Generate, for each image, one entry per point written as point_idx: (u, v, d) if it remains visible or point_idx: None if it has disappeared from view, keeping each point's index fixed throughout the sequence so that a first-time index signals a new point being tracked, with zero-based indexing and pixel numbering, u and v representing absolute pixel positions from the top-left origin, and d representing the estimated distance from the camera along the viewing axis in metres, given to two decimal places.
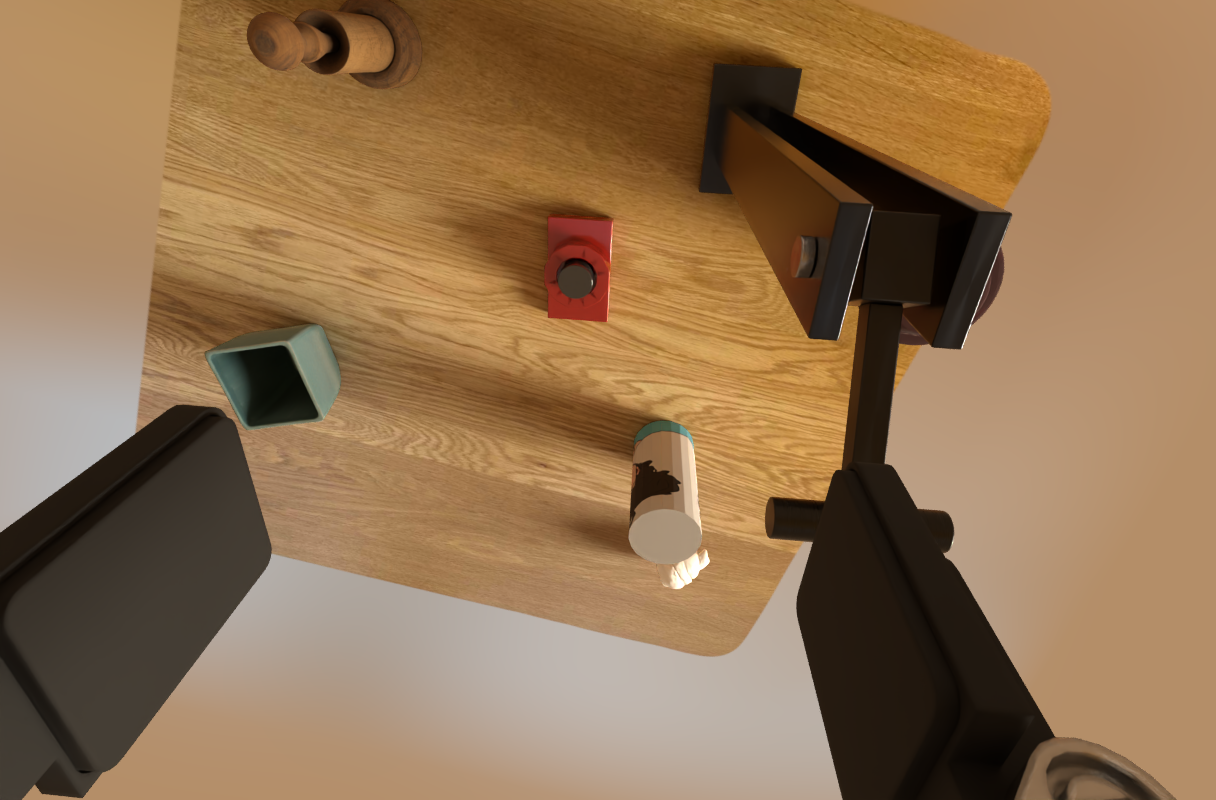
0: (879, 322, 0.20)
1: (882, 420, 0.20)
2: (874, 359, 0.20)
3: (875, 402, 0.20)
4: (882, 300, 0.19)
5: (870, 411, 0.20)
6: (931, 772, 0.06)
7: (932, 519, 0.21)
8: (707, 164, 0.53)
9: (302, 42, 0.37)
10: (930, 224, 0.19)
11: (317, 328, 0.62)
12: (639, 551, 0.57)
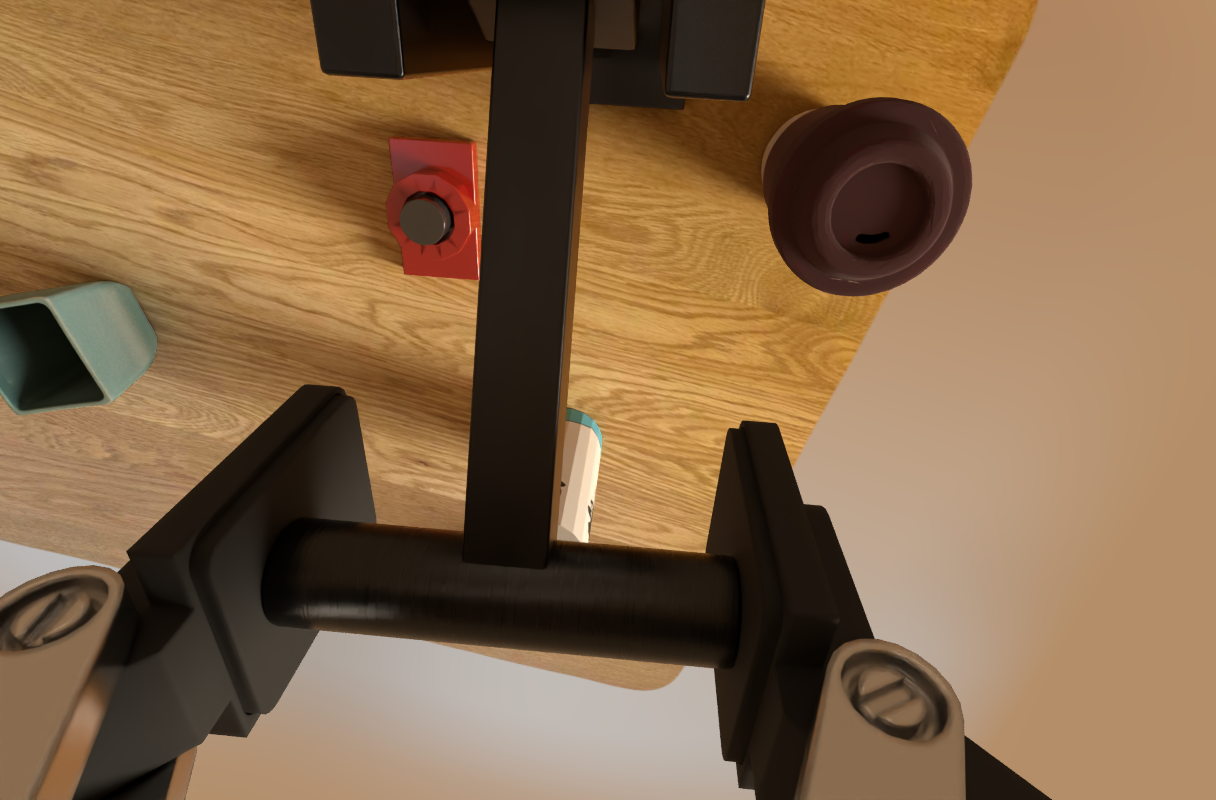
0: (522, 30, 0.07)
1: (543, 310, 0.07)
2: (514, 138, 0.07)
3: (524, 261, 0.07)
4: None
5: (510, 285, 0.07)
6: (767, 677, 0.07)
7: (686, 584, 0.08)
8: None
9: None
10: None
11: (114, 286, 0.49)
12: None
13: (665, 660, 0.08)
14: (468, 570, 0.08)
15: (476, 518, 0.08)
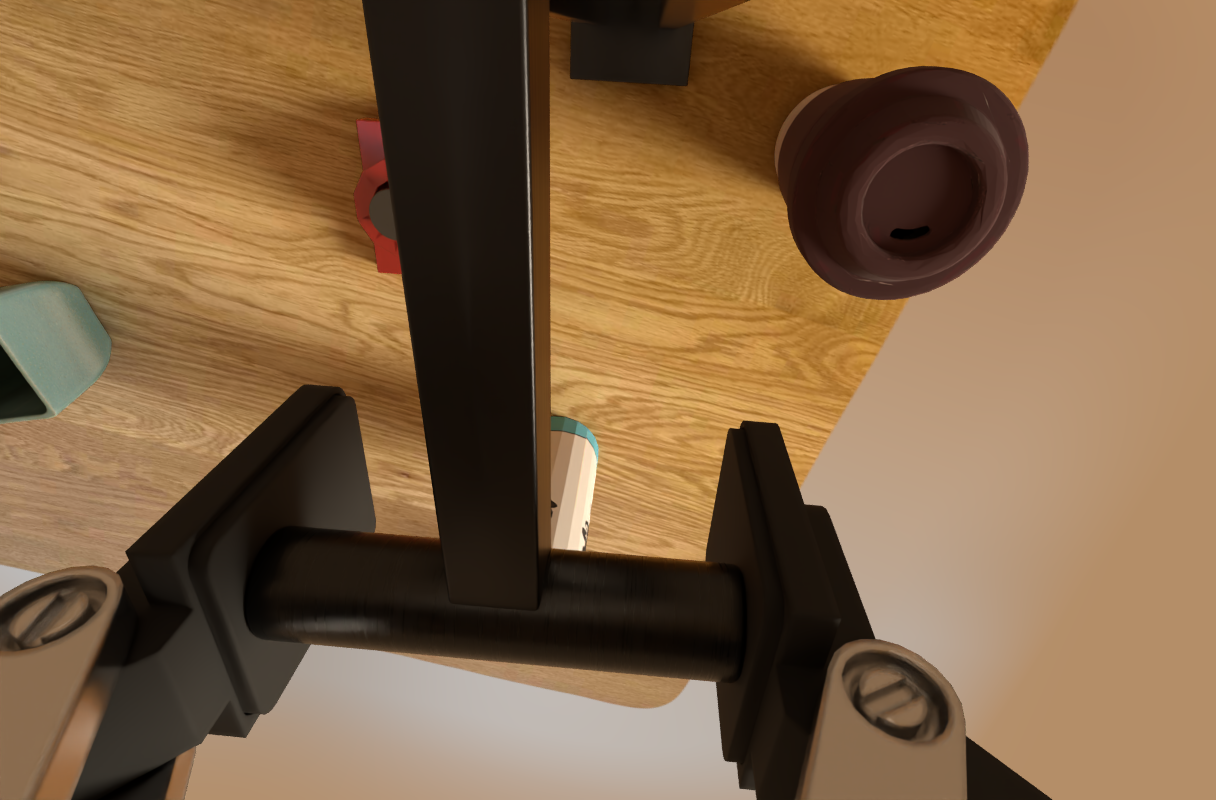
0: None
1: (503, 376, 0.05)
2: (423, 130, 0.04)
3: (468, 313, 0.05)
4: None
5: (454, 345, 0.05)
6: (768, 677, 0.07)
7: (688, 626, 0.07)
8: (578, 33, 0.35)
9: None
10: None
11: (58, 286, 0.44)
12: None
13: None
14: (456, 612, 0.07)
15: (456, 569, 0.07)
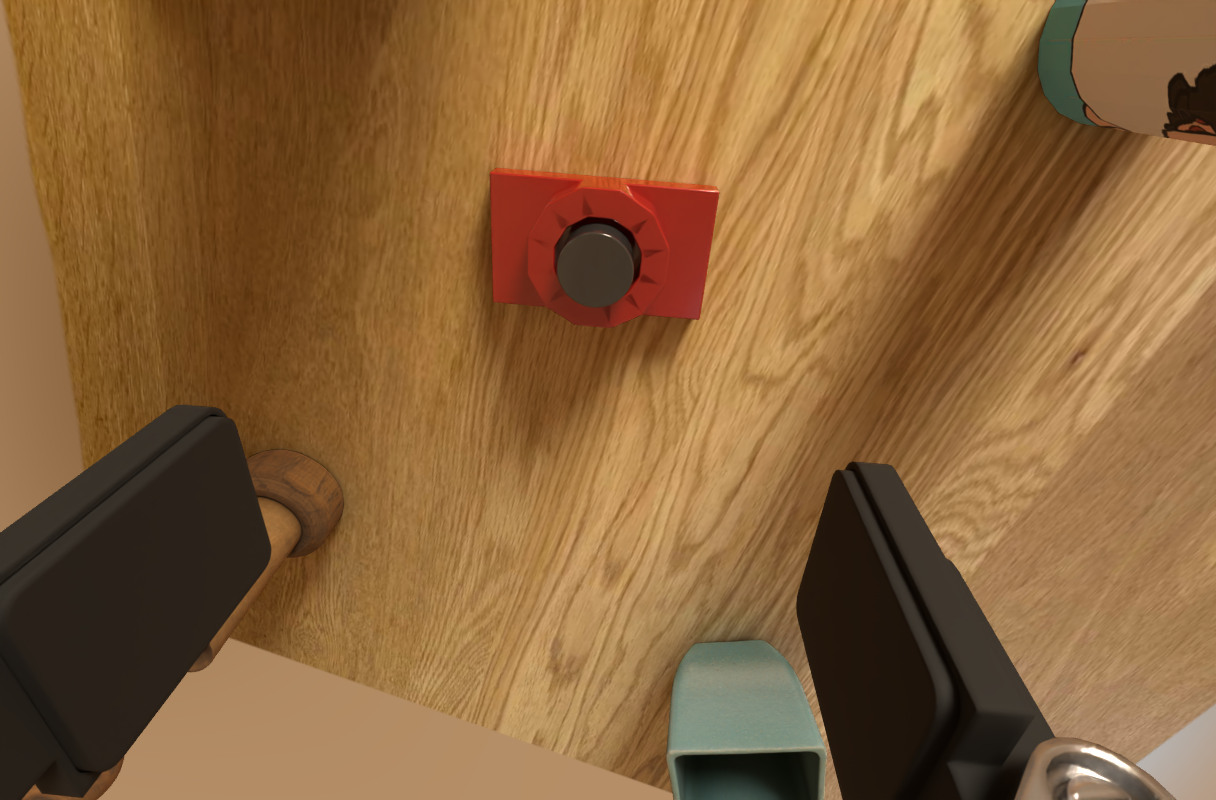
0: None
1: None
2: None
3: None
4: None
5: None
6: (931, 772, 0.06)
7: None
8: None
9: None
10: None
11: (685, 663, 0.40)
12: None
13: None
14: None
15: None
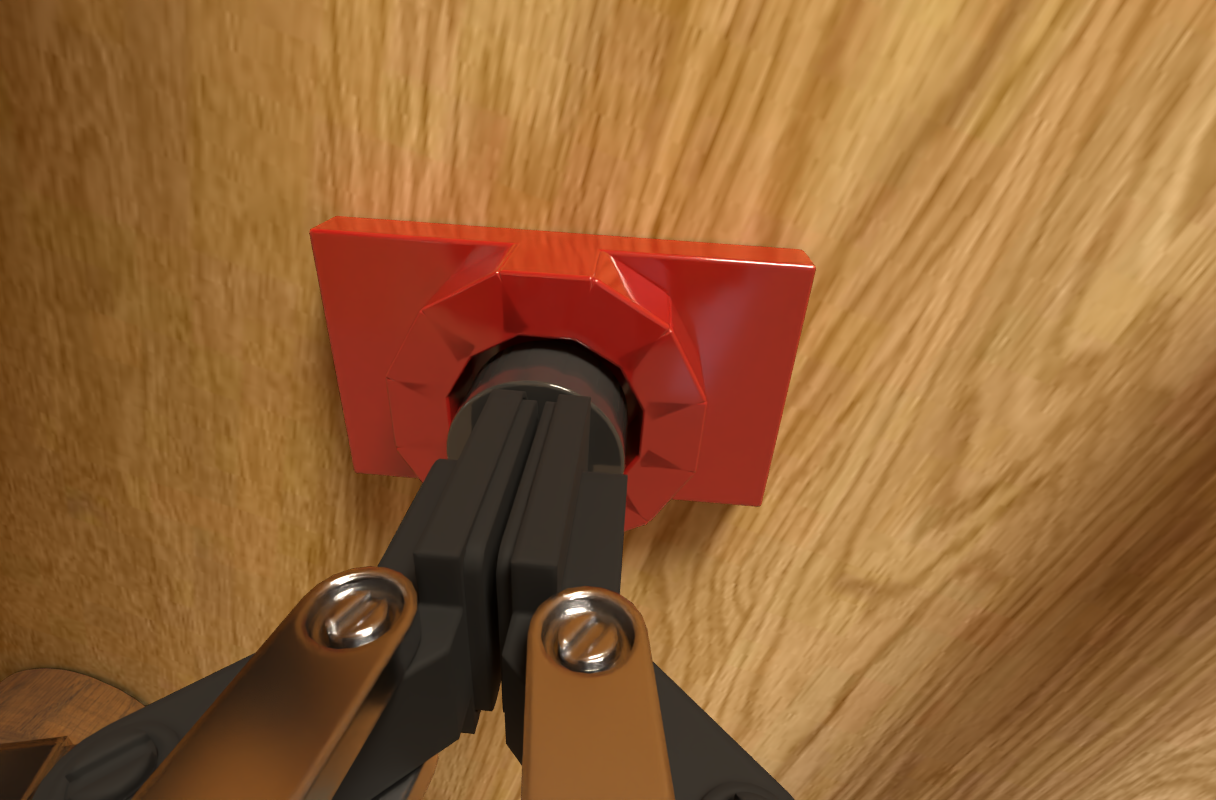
0: None
1: None
2: None
3: None
4: None
5: None
6: None
7: None
8: None
9: None
10: None
11: None
12: None
13: None
14: None
15: None
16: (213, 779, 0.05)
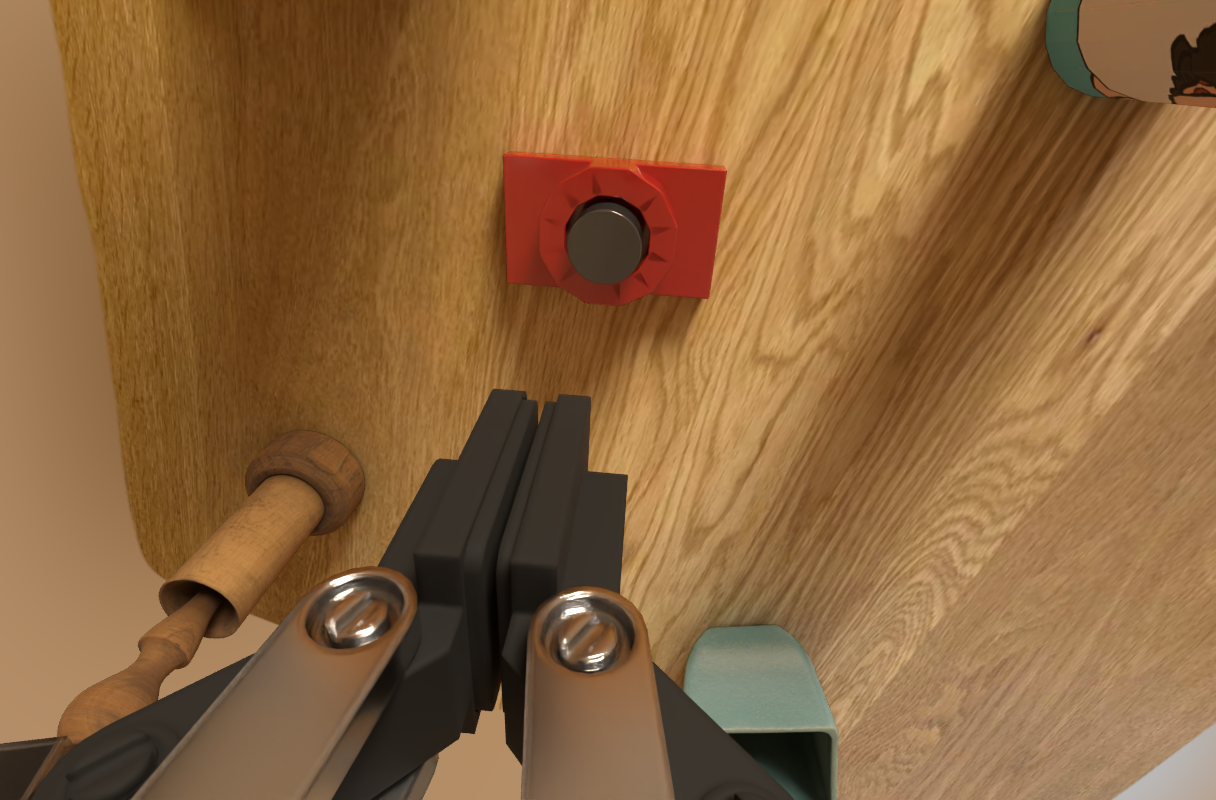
0: None
1: None
2: None
3: None
4: None
5: None
6: None
7: None
8: None
9: (100, 689, 0.24)
10: None
11: (698, 646, 0.40)
12: None
13: None
14: None
15: None
16: (214, 779, 0.05)
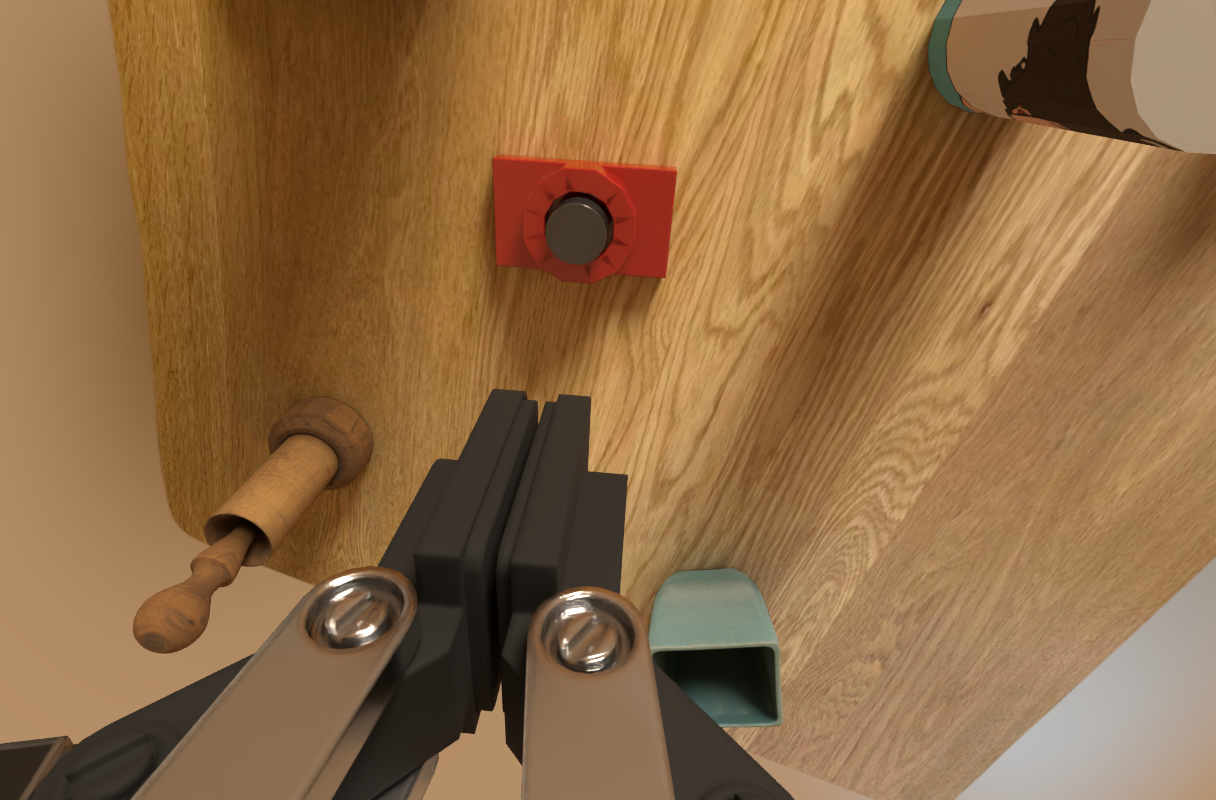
0: None
1: None
2: None
3: None
4: None
5: None
6: None
7: None
8: None
9: (166, 593, 0.29)
10: None
11: (665, 585, 0.46)
12: None
13: None
14: None
15: None
16: (214, 779, 0.05)
